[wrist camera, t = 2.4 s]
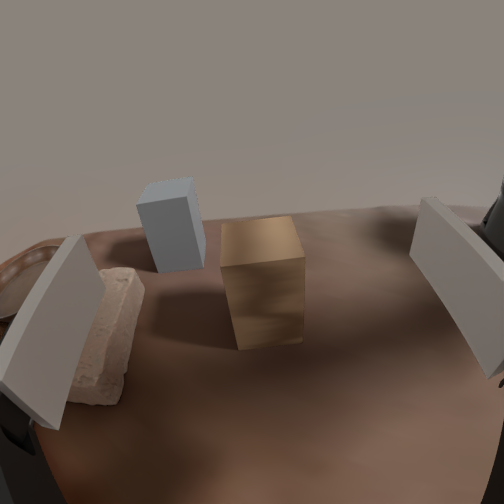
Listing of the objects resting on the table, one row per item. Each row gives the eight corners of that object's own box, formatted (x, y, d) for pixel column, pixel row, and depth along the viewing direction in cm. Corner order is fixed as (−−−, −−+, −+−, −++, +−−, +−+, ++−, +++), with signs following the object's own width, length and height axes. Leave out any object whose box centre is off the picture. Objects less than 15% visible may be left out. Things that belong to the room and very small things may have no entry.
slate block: (206, 242, 42) (192, 176, 36) (203, 268, 37) (186, 196, 32) (165, 247, 42) (148, 183, 36) (158, 273, 37) (135, 204, 32)
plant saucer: (3, 277, 41) (-4, 264, 39) (77, 246, 46) (71, 231, 44) (-18, 345, 27) (-29, 330, 26) (72, 312, 33) (61, 294, 31)
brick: (93, 294, 35) (78, 267, 33) (148, 289, 35) (136, 259, 33) (55, 403, 22) (28, 378, 19) (122, 411, 22) (97, 386, 19)
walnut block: (292, 298, 32) (290, 215, 26) (302, 342, 27) (305, 256, 21) (236, 305, 32) (221, 223, 26) (238, 350, 27) (220, 266, 21)
